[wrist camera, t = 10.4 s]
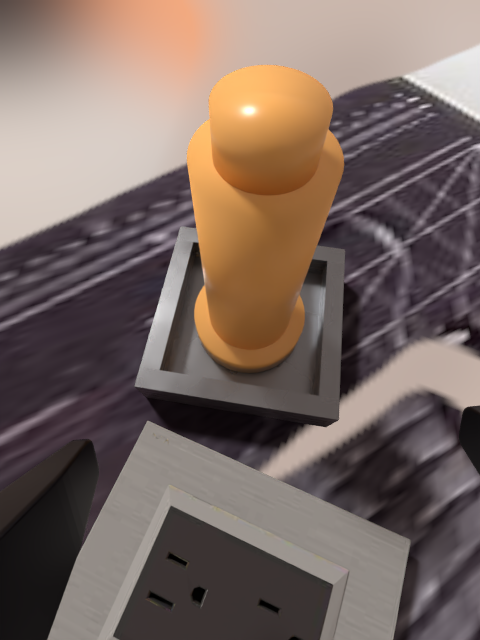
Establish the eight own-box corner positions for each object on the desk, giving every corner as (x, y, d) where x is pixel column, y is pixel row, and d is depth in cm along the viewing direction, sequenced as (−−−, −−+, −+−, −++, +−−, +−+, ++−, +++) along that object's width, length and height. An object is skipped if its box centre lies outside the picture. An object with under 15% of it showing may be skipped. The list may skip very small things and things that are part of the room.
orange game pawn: (317, 350, 20) (448, 153, 8) (218, 389, 19) (193, 230, 7) (274, 266, 22) (323, 15, 10) (183, 297, 21) (118, 57, 9)
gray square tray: (325, 427, 19) (338, 419, 17) (145, 397, 19) (134, 386, 17) (333, 272, 23) (344, 249, 21) (185, 250, 23) (180, 226, 21)
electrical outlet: (391, 533, 17) (414, 541, 15) (331, 835, 13) (351, 906, 11) (156, 426, 19) (146, 420, 17) (38, 660, 15) (5, 690, 13)
